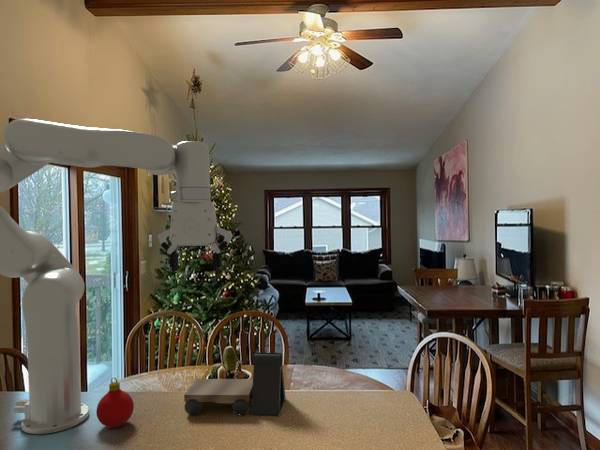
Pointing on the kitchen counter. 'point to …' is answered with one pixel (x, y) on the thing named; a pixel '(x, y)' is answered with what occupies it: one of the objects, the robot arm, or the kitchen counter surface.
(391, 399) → the kitchen counter surface
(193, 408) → the trolley
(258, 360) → the phone stand
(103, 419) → the christmas ornament
